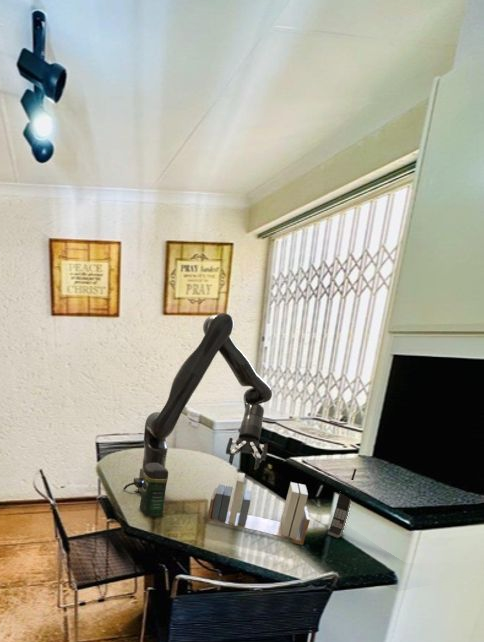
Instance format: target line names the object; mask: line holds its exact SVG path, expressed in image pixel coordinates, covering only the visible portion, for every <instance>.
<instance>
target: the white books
mask: <svg viewBox="0 0 484 642" xmlns="http://www.w3.org/2000/svg"><path fill="white" fill-rule="evenodd" d="M308 496H309V493H308V489H307V486H306V484H302V483H297V482H292V481H290V483H289V487H288V491H287V495H286V499H285V503H284V506H283V510H282V515H281V519H280V521H279V522H280V524H281V535H284V536H288V535H289V537H293V538H297V534H298V531H299V527H300V523H301V519H302V516H303V512H304V508H305V506H307V505H306V504H307V500H308Z"/></svg>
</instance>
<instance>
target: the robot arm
mask: <svg viewBox="0 0 484 642" xmlns="http://www.w3.org/2000/svg"><path fill="white" fill-rule="evenodd" d="M234 324H235V323H234V319H233V317H232V315H230V314H229V313H225V312H220V313H215V314H211V315H209V316H208V317H206V318H205V320H204V322H203V324H202V331H203V334H204V336H203V337H202V339H201V341H200V343H199V345H198V346H197V347H196V348H195V349H194V351H193V352H192V353H191V354H190V355H189V356H188V357H187V358H186V359H185V361H184V362H183V363H182V364H181V366H180V368H179V369H178V371H177V373H176V374H175V376H174V378H173V380H172V383H171V387H170V390H169V393H168V398H167V401H166V403H165V404H164V406H163V408H162V409H161V411H155V412H152V413H150V414H149V415H148V416H147V418H146V419H145V423H144V433H143V447H144V449H143V458H142V466H141V468H140V469H139V474H138V475H139V476H138V477H134V478H133V482H130V483H127V484H126V485H125V486H124V487H123V490H126V489H127V488H128V487H131V486H133V485H134V487H135V488H136V489H137V491H138V492H139V493H140V494H142V487H143V479H144V468H145V465H147V464H148V463H159V464H160V465H162V466H163V467H165V468H166V463H167V457H168V445H167V441H166V440H167V438H168V437H170V435H171V434H172V433H173V431H174V429H175V427H176V425H177V423H178V421H179V419H180V417H181V414H182V413H183V411H184V409H185V407H186V405H187V404H188V402H189V400H190V399H191V397H192V396H193V394H194V393H195V391H196V390H197V388H198V386H199V385H200V383H201V381H202V380H203V378H204V376H205V375H206V372H207V370H208V369H209V367H210V365H211V364H212V363H213V361H214V358H215V357H216V355H217V354H218V352H219V353H220V355H221V356H222V358H223V359H224V361H225V362H226V364H227V365H228V367H229V368H230V370H231V372H232V373H233V375H234V378H236V381H237V382H238V384H239V385H240V386H241V387H244V388H245V387H251V388H247V390H245V392H244V394H243V402H244V414H243V419H242V420H241V424H240V428H239V432H238V437H237V439H233V438H232V437H229V439H228V441H227V445H226V449H225V454H226V455H229V457H228V463H229V465H230V466H233V463H234V459H235V456H236V455H237V454H239V453H242V454H248V455H252V456H253V457H254V458H255V463H254V470H257V469H259V468H260V463H261V461H263V462H264V461H266V460H267V456H268V446H269V445H268V443H266V442H265V443H264V444H262V443H260V439H261V434H262V429H263V427H262V426H263V420H264V414H265V408H264V406H263V405H261V404H264V403H267V402H269V401H270V400H271V399H272V398H273V391H272V388H271V386H270V385H269V384H268V383H267V382H266V381H265V380H263V378H261V376H260V375H259V374H257V372H256V371H255V369H254V368H253V366H252V364H251V362H250V361H249V359H248V358H247V357H246V356H245V355H244V353H243V352H242V351H241V350H240V349H239V348H238V347H237V346H236V344H235V342H233V340H232V338H231V334H232V333H233V329H234ZM234 445H236V446H235V447H234V448H233V449H232V450H231V448H232V446H234ZM259 449H260V450H261V451H262V455H261V454H260V452H259Z"/></svg>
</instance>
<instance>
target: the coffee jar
mask: <svg viewBox="0 0 484 642" xmlns="http://www.w3.org/2000/svg"><path fill="white" fill-rule="evenodd" d="M168 479H169V470H168V469H167V468H166V466H165V467H163V466H162V465H160V464H159V463H148V464H147V465H145V468H144V479H143V487H142V493H140V494H141V495H140V501H139V510H140V512H141V513H142V514H143V516H145V517H148V518H149V517H150V518H159V517H162V516H163V515H164V507H165V500H166V499H165V498H166V491H167V490H166V489H167V484H168Z"/></svg>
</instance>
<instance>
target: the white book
mask: <svg viewBox="0 0 484 642" xmlns="http://www.w3.org/2000/svg"><path fill="white" fill-rule="evenodd" d="M245 476H246V473H244V472H238V474H237V478H236V483H235V488H234V493H233V498H232V503H231V508H230V511H231V512H230V517H229V522H228V523H232V524H235V521H236V516H237V513H238V510H239V506H240V501H241V496H242V492H243V486H244V482H245Z"/></svg>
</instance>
